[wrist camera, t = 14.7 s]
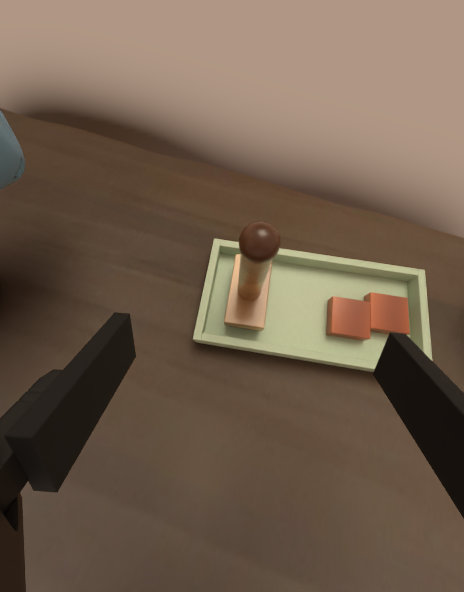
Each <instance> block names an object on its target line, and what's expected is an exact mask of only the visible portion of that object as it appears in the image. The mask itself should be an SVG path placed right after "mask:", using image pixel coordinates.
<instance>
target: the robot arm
mask: <svg viewBox="0 0 464 592" xmlns="http://www.w3.org/2000/svg"><path fill="white" fill-rule="evenodd" d="M24 170H25V159H24V155H23V152H22V149H21V147H20V145H19V143H18V141H17V139H16V137H15V135H14V133H13V131H12V129H11V128H10V126H9V124H8V122H7V121H6V119H5V117H4V115H3V114H2V112H1V110H0V189H2V188H4V187H6V186H8V185H10V184H12V183H14V182H16V181H17V180H18V179H19V178H20V177H21V176H22V175H23V173H24ZM135 357H136V353H135V346H134V340H133V333H132V326H131V319H130V314H127V313H114V314H113V315H112V316H111V317H110V319H109V320H108V321H107V322H106V323H105V324H104V325H103V326H102V327H101V328H100V330H99V331H98V332H97V333H96V334H95V335H94V336H93V337H92V338H91V340H90V341H89V342H88V343H87V344H86V345H85V346H84V347H83V348H82V350H81V351H80V352H79V353H78V354H77V355H76V356H75V357H74V358H73V360H72V361H71V362H70V363H69V364H68V365H67V366H66V367H65V368H64V369H63V370H52V371H50V372H49V373H47V374H46V375H44V376H43V377H41V378H39V379H38V380H37V381H36V382H35V383H34V384H33V385H32V387H31V388H30V389H29V390H28V392H26V393H25V394H24V395H23V396H22V397H21V398H20V399H19V401H17V402H16V403H15V404H14V405H13V406H12V407H11V408H10V409H9V410H8V411H7V412H6V413H5V414H4V415H3V416H2V417H1V418H0V592H26V584H25V559H24V535H23V510H22V497H21V494H20V492H21V490H22V489H23V487H24V486H25V484H26V483H27V481H29V483H30V485H31V487H32V488H33V490H34V491H46V492H58V490H59V488H60V487H61V485H62V483H63V481H64V480H65V478H66V476H67V475H68V473H69V471H70V469H71V468H72V466H73V464H74V462H75V461H76V459H77V457H78V456H79V454H80V452H81V450H82V449H83V447H84V445H85V443H86V442H87V440H88V438H89V437H90V435H91V433H92V431H93V430H94V428H95V426H96V424H97V423H98V421H99V419H100V418H101V416H102V414H103V412H104V411H105V409H106V407H107V405H108V404H109V402H110V400H111V399H112V397H113V395H114V393H115V392H116V390H117V388H118V386H119V385H120V383H121V381H122V380H123V378H124V376H125V374H126V373H127V371H128V369H129V367H130V366H131V364H132V362H133V361H134V359H135ZM373 375H374V376H375V378H376V380H377V381H378V383H379V384H380V386H381V388H382V389H383V391H384V392H385V394H386V396H387V397H388V399H389V400H390V402H391V403H392V405H393V407H394V408H395V410H396V411H397V413H398V415H399V416H400V418H401V419H402V421H403V423H404V424H405V426H406V427H407V429H408V431H409V432H410V434H411V435H412V437H413V439H414V440H415V442H416V443H417V445H418V446H419V448H420V450H421V451H422V453H423V454H424V456H425V458H426V459H427V461H428V462H429V464H430V466H431V467H432V469H433V470H434V472H435V474H436V475H437V477H438V478H439V480H440V482H441V483H442V485H443V486H444V488H445V489H446V491H447V493H448V494H449V496H450V497H451V499H452V501H453V502H454V504H455V505H456V507H457V509H458V510H459V512H460V513H461V515H462V517H463V518H464V393H463V392H462V391H461V390H460V389H459V388H458V387H457V386H456V385H455V384H454V383H453V382H452V381H451V380H450V379H449V378H448V377H447V376H446V375H445V374H444V373H443V372H442V371H441V370H440V369H439V368H438V366H437V365H436V364H435V363H434V362H433V361H432V360H431V359H430V358H429V357H428V356H427V355H426V354H425V353H424V352H423V351H422V350H421V349H420V348H419V347H418V346H417V345H416V344H415V343H414V342H413V341H412V340H411V339H410V338H409V337H408V336H407V335H406V334H405V333H392V332H390V333H389V336H388V338H387V340H386V343H385V345H384V348H383V350H382V353H381V355H380V358H379V360H378V362H377V365H376V367H375V370H374V372H373Z"/></svg>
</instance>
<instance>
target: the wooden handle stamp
mask: <svg viewBox="0 0 464 592" xmlns="http://www.w3.org/2000/svg"><path fill="white" fill-rule="evenodd" d="M279 248H280V236H279V233H278V232H277V230H276V229H275V228H274V227H273V226H272V225H271V224H269V223H266V222H254V223H251V224H249V225H248V226H247V227H245V228H244V230H243V231H242V233H241V235H240V238H239V249H240V251H241V254H236V256H235V261H234V267H233V273H232V279H231V284H230V290H229V296H228V301H227V307H226V313H225V318H224V325H226V326H230V327H236V328H242V329H248V330H254V331H263V329H264V326H265V318H266V310H267V302H268V294H269V286H270V278H271V270H272V261H273V260H272V259H273V258H274V257H275V256H276V255H277V253H278V251H279Z"/></svg>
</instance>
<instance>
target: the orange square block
mask: <svg viewBox="0 0 464 592" xmlns="http://www.w3.org/2000/svg"><path fill="white" fill-rule="evenodd" d="M364 301H367V302H370V332H376V333H383V334H389V333H390V332H392V333H405V334H406V335H408V334H410V331H409V313H408V298H405V297H399V296H392V295H386V294H379V293H373V292H370V293H368V294H367V295H365V296H364Z"/></svg>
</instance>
